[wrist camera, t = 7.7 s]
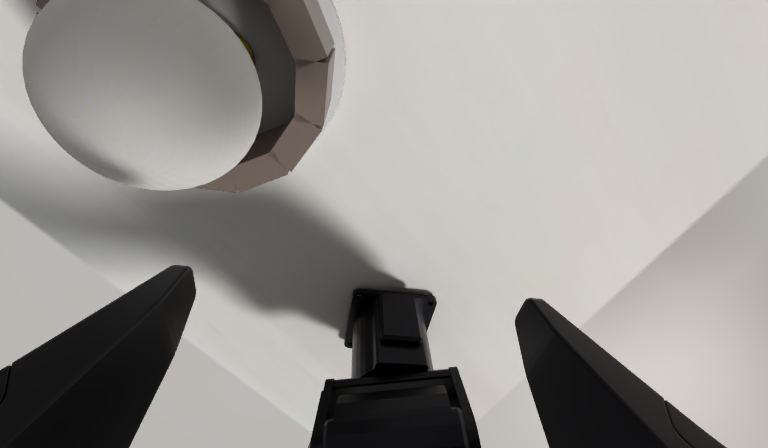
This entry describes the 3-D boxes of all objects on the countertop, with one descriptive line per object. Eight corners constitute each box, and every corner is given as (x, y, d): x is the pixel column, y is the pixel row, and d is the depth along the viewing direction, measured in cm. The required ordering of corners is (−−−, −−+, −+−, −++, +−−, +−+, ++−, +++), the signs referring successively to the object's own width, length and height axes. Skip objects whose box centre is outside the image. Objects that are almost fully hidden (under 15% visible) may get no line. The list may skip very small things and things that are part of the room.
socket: (334, 170, 21) (328, 213, 17) (136, 144, 19) (78, 184, 16) (358, -62, 15) (357, -80, 11) (75, -126, 14) (-45, -173, 10)
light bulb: (149, 76, 17) (-57, 161, 9) (186, -54, 14) (-60, -111, 6) (265, 139, 19) (189, 258, 11) (316, 36, 16) (268, 87, 8)
